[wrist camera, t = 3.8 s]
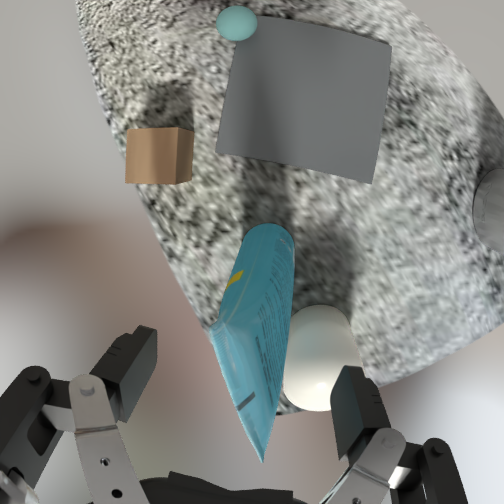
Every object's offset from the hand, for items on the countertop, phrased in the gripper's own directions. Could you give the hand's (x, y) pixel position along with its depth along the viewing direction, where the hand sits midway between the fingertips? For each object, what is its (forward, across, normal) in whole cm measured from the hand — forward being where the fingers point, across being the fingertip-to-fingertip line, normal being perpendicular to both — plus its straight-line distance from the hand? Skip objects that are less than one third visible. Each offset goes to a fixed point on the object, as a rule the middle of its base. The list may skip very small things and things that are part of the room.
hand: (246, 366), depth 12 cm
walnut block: (+15, +8, -7) cm, 18 cm away
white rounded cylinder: (+17, -7, +8) cm, 20 cm away
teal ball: (+16, +6, -20) cm, 26 cm away
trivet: (+17, -1, -15) cm, 22 cm away
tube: (+17, 0, 0) cm, 17 cm away
